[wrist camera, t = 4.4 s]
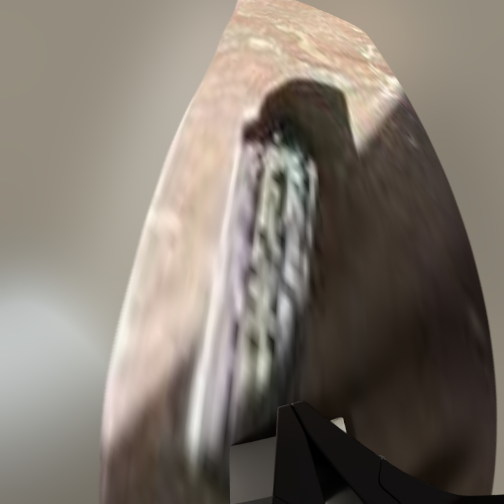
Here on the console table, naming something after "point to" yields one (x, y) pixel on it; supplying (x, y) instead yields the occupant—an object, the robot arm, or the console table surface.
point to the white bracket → (256, 470)
